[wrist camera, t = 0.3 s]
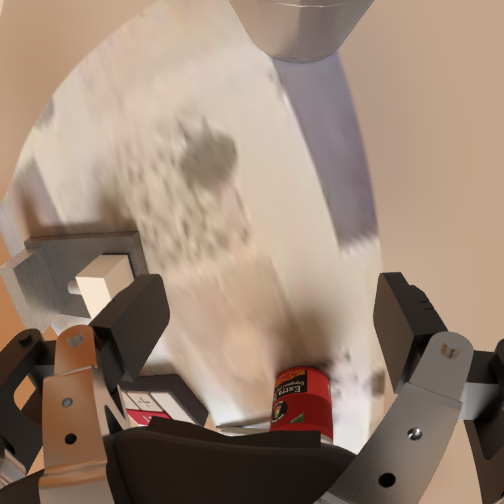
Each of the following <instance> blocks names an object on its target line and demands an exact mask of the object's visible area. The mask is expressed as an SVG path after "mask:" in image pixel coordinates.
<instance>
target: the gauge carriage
mask: <svg viewBox="0 0 504 504" xmlns="http://www.w3.org/2000/svg"><path fill="white" fill-rule="evenodd" d="M75 278H76V280H77V281H74V280H71V281H70V282H69V283H68V291H69V292H70V293H71V294H80V295H82V296H83V299H84V302H85V304H86V307H87V309H88V312H89V314H90V316H91V319H92V320H93V319H94V318H95V317H96V316H97V315H98V314H99V312H100V311H101V310H102V309H103V308H104V307H106V305H107V304H108V303H109V302H110V301H112V299H113V298H114V296H115V295H116V294H117V293H118V292H120V291H121V290H123V289H125V288H126V287H128V286H129V285H130V284H131V283H132V282H133V281H134V278H133V274H132V271H131V267H130V263H129V259H128V256H127V255H99V256H98V257H97V258H96V259H95V260H93V261H92V262H91V263H90V264H89V265H88V266H87V267H85V268H84V269H83V270H82V271H81V272H80V273H79V274H78V275H77V276H75Z"/></svg>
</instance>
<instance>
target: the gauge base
mask: <svg viewBox="0 0 504 504" xmlns="http://www.w3.org/2000/svg"><path fill="white" fill-rule="evenodd" d="M24 245H25V248H26V249H24V250H23V251H21V252H20V253H18V254H17V255H16V256H14V257H13V258H11V259H10V260H9V261H7V262H6V263H5V264H3V265H2V266H1V267H0V273H1V275H2V278H3V280H4V283H5V285H6V288H7V290H8V292H9V294H10V297H11V299H12V301H13V303H14V306H15V308H16V310H17V312H18V314H19V316H20V318H21V320H22V322H23V324H24V326H25V328H26V329H31V328H36V329H38V330H39V331H40V332H41V334H42V333H43V332H44V331H45V330H46V329H47V327H48V326H49V325H50V324H51V323H52V322H53V321H54V320H55V319H56V318H57V317H58V316H59V315H60V314H65V315H71V316H78V317H84V318H91V316H90V314H89V312H88V309H87V307H86V304H85V302H84V299H83V296H82V295H80V294H71V293H70V292H69V291H68V283H69V282H70V281H71V280H74V281H77V280H76V278H75V276H77V275H78V274H79V273H80V272H81V271H82V270H83V269H84V268H85V267H87V266H88V265H89V264H90V263H91V262H92V261H93V260H95V259H96V258H97V257H98V256H99V255H127V256H128V259H129V263H130V267H131V271H132V274H133V278H134V280H135V279H136V278H137V277H138V276H139V275H140V274H148V270H147V266H146V262H145V258H144V254H143V250H142V245H141V241H140V237H139V232H138V231H133V232H113V233H94V234H77V235H62V236H47V237H33V238H29V239H27V240H26V241H24Z"/></svg>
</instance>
